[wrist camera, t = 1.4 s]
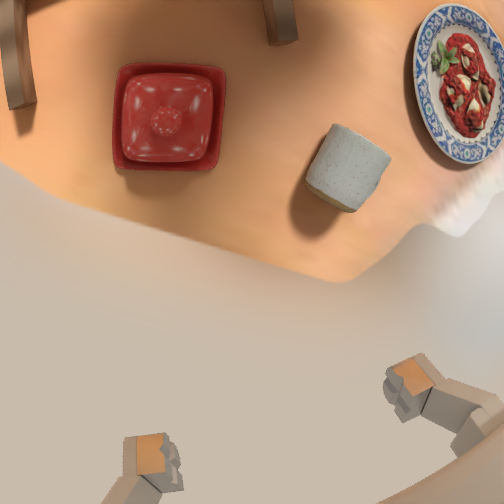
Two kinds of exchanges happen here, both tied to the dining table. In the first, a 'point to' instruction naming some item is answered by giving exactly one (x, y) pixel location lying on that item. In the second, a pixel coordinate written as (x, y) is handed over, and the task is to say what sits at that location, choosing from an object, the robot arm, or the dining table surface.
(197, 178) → the dining table surface
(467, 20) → the ceramic plate
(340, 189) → the ceramic mug
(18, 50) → the dock
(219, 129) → the butter dish
